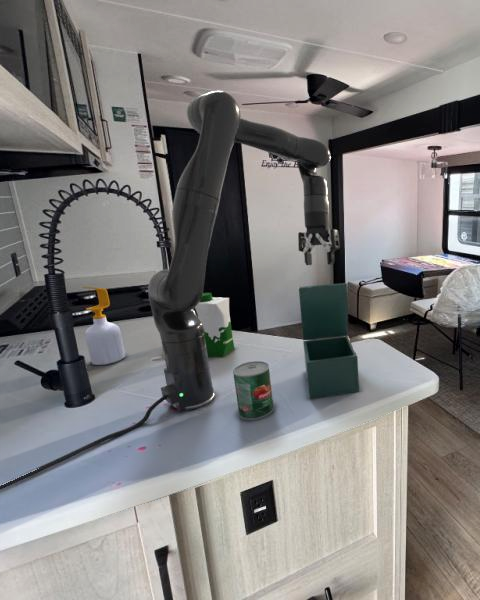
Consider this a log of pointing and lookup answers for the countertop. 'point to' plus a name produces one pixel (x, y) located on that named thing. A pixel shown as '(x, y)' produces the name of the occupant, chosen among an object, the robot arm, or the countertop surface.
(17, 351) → the countertop surface
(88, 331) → the spray bottle
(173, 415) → the countertop surface
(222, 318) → the milk carton
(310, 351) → the case
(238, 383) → the canned tomato
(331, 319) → the case lid
